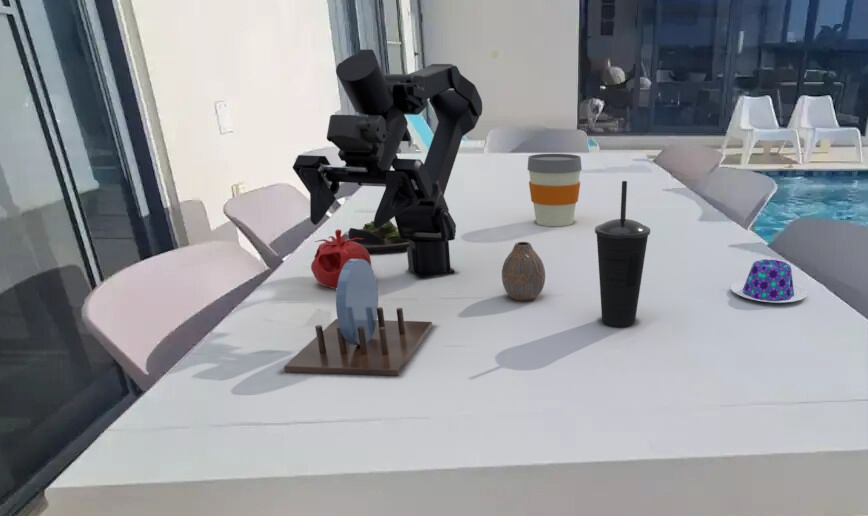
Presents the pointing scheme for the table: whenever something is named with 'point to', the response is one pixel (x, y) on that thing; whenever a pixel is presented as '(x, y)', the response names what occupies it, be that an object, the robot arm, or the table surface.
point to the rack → (362, 348)
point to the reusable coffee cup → (554, 187)
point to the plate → (356, 300)
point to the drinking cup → (620, 266)
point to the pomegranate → (336, 258)
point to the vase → (523, 273)
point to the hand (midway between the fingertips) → (344, 224)
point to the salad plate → (378, 238)
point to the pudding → (769, 283)
